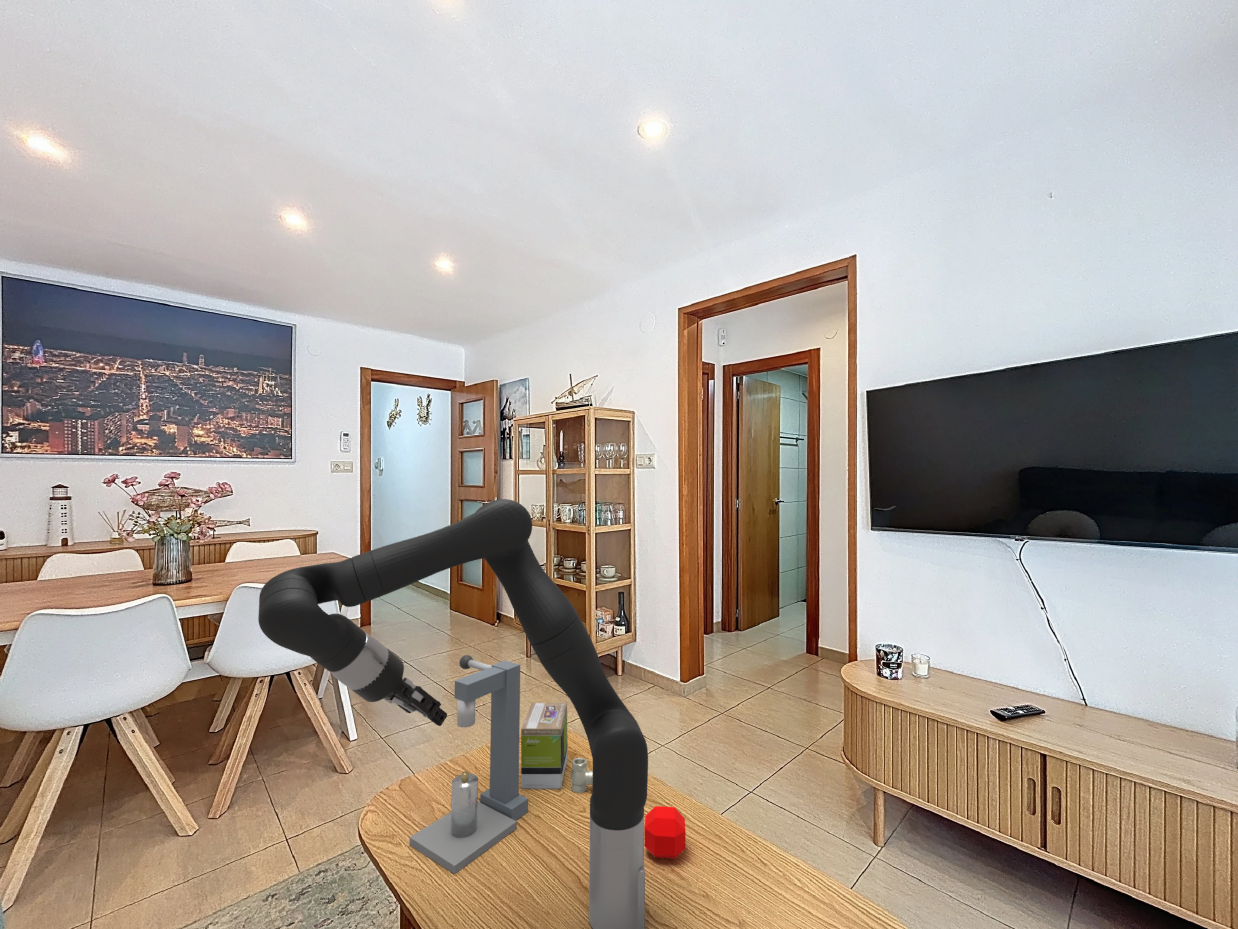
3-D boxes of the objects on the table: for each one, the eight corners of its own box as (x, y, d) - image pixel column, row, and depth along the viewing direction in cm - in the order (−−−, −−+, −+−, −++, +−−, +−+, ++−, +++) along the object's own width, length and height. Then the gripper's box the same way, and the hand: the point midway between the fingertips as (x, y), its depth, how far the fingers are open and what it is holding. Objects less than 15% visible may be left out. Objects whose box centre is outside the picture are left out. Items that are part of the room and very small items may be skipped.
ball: (684, 839, 109) (684, 801, 110) (685, 867, 101) (685, 826, 102) (645, 837, 110) (645, 799, 110) (643, 864, 102) (644, 824, 102)
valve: (565, 795, 125) (613, 805, 121) (565, 766, 125) (613, 776, 121) (576, 780, 131) (622, 790, 127) (577, 753, 131) (623, 761, 127)
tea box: (530, 757, 142) (531, 701, 142) (568, 757, 142) (568, 701, 142) (519, 790, 127) (520, 727, 127) (561, 790, 127) (562, 727, 127)
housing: (480, 821, 112) (481, 766, 112) (472, 838, 107) (473, 781, 107) (455, 820, 112) (456, 765, 112) (447, 837, 107) (448, 780, 107)
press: (454, 874, 99) (457, 700, 100) (386, 829, 112) (389, 675, 113) (534, 815, 117) (536, 668, 118) (468, 782, 129) (470, 649, 131)
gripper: (408, 653, 82) (466, 703, 91) (358, 637, 90) (416, 684, 99) (375, 699, 78) (440, 747, 87) (325, 678, 86) (389, 724, 95)
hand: (427, 714), depth 93 cm, fingers open, 8 cm apart
